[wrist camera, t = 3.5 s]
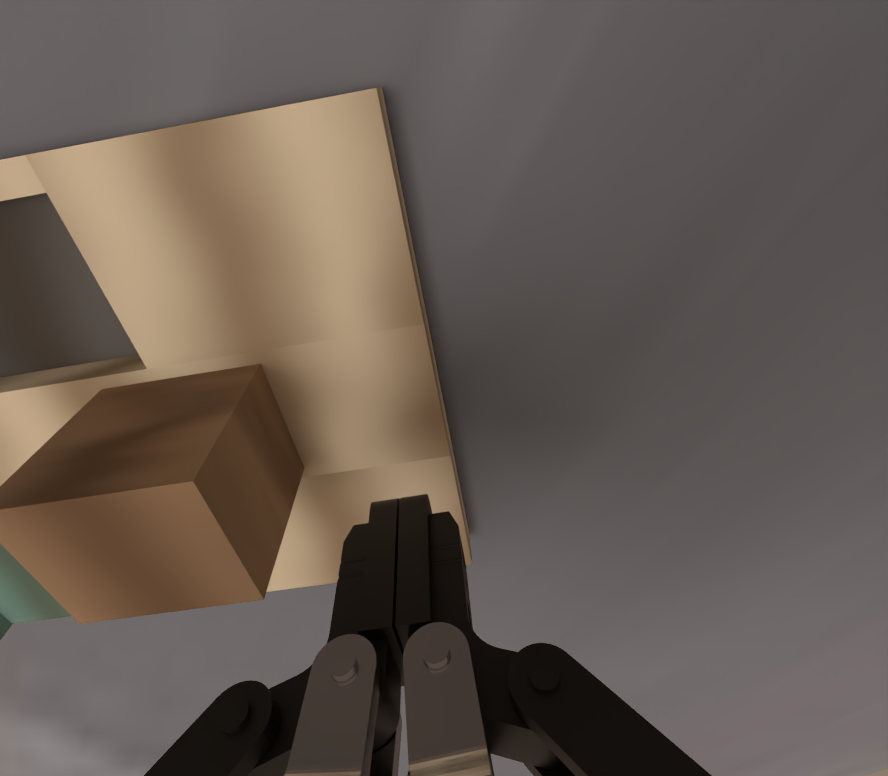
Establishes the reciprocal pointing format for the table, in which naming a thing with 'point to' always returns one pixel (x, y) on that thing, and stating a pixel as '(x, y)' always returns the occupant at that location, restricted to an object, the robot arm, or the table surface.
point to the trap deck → (230, 306)
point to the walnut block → (157, 497)
